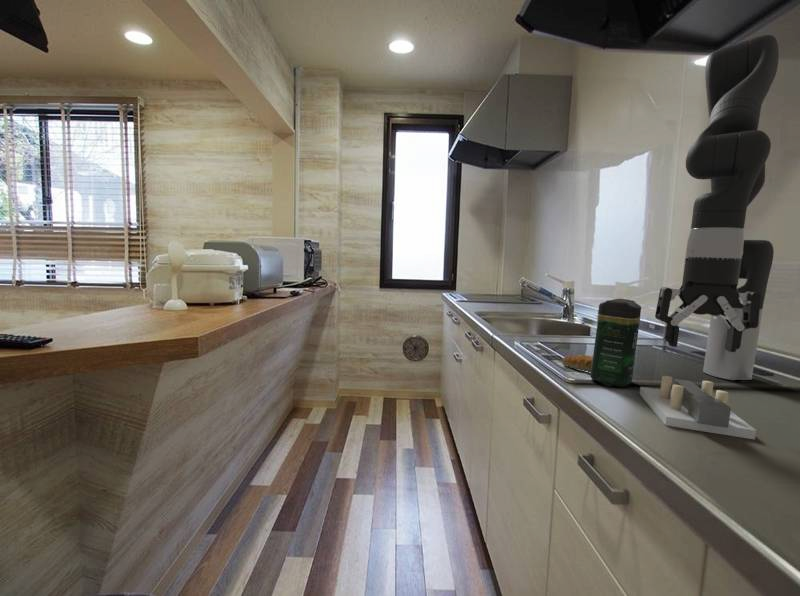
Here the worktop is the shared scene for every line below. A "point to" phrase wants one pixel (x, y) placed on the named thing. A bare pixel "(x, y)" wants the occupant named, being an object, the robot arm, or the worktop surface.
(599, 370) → the coffee jar
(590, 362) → the pastry
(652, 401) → the rack
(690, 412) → the grey long block
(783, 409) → the worktop surface
